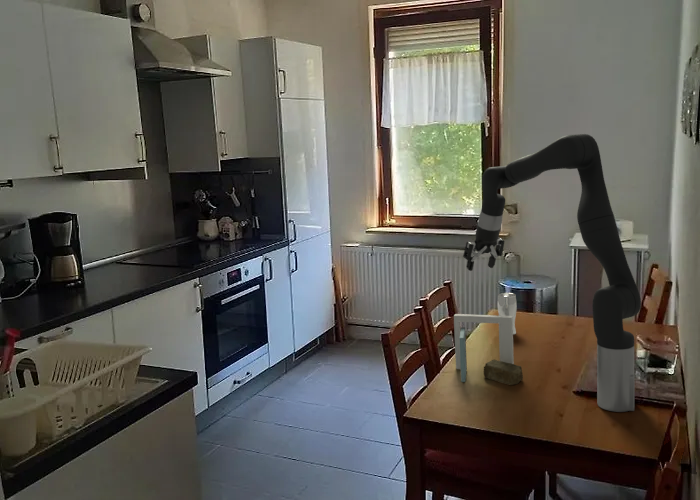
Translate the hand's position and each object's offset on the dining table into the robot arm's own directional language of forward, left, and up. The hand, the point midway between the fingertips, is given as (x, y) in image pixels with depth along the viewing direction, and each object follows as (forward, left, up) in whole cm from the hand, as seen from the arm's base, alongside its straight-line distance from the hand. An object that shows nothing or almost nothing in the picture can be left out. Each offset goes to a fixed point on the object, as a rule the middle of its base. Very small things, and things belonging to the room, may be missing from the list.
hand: (480, 268), depth 218 cm
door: (+2, +22, -30) cm, 37 cm away
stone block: (-10, +22, -31) cm, 39 cm away
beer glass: (-4, -26, -31) cm, 40 cm away
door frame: (-2, +15, -30) cm, 34 cm away
